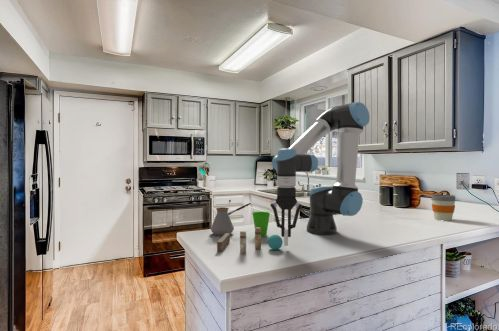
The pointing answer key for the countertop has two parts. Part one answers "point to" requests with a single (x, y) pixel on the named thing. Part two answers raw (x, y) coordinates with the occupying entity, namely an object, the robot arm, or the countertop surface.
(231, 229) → the coffee pot
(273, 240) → the ball
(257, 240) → the front pin
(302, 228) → the countertop surface
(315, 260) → the countertop surface
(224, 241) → the bar
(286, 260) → the countertop surface
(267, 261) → the countertop surface
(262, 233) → the cup
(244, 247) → the side pin
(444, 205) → the reusable coffee cup
